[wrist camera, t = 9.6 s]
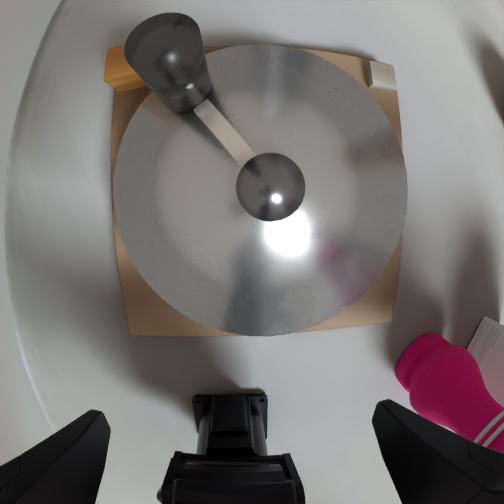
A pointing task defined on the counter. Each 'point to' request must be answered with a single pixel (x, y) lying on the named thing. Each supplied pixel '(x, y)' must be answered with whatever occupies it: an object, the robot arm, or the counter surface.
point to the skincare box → (490, 356)
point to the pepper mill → (451, 390)
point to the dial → (254, 182)
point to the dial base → (147, 300)
